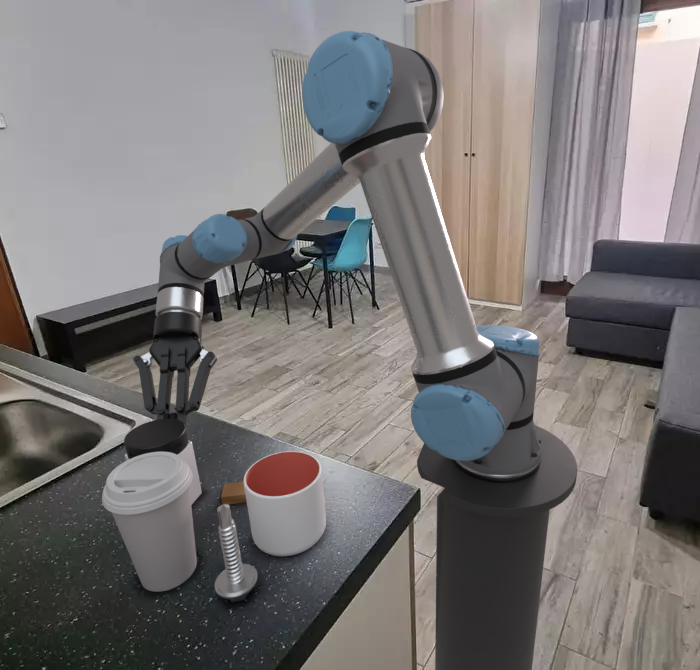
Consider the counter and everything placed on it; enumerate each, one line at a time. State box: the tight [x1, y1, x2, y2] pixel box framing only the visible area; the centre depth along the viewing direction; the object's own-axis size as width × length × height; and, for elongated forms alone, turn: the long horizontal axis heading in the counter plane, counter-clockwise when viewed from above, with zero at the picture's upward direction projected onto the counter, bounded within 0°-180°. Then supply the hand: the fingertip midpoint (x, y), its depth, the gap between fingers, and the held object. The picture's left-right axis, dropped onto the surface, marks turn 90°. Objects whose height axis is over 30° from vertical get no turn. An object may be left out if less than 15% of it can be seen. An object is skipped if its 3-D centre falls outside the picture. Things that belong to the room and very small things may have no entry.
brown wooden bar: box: [220, 481, 247, 505], centre depth 75 cm, size 13×3×2 cm, turn 100°
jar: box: [123, 419, 203, 506], centre depth 72 cm, size 9×8×12 cm
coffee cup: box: [101, 452, 198, 593], centre depth 59 cm, size 10×10×15 cm
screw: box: [214, 504, 259, 603], centre depth 56 cm, size 13×5×5 cm
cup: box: [243, 450, 327, 557], centre depth 65 cm, size 10×10×10 cm
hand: (169, 456), depth 75 cm, fingers closed
